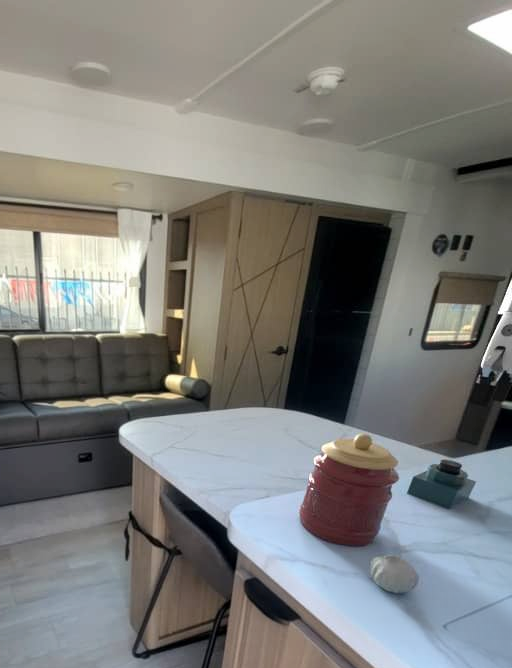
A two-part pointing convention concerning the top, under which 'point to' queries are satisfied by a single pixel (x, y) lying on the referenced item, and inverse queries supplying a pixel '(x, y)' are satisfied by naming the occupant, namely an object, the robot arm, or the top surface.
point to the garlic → (393, 574)
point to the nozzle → (450, 467)
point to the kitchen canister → (349, 491)
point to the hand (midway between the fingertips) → (486, 402)
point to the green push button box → (441, 487)
